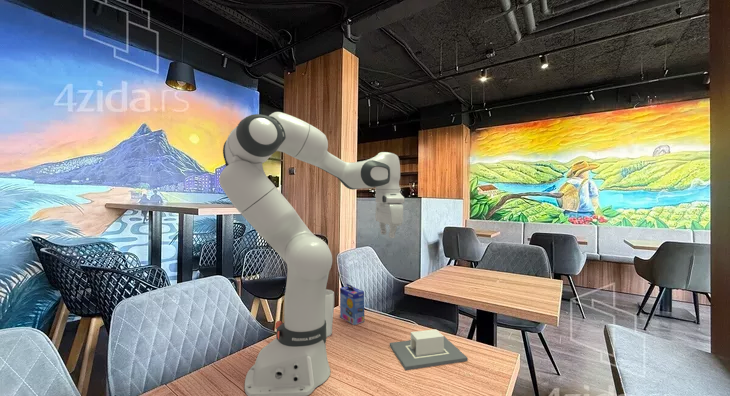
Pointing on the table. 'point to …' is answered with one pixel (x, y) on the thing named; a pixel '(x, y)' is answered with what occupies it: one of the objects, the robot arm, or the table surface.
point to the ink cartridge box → (352, 304)
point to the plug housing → (427, 342)
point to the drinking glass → (329, 310)
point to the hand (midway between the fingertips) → (387, 236)
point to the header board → (415, 362)
